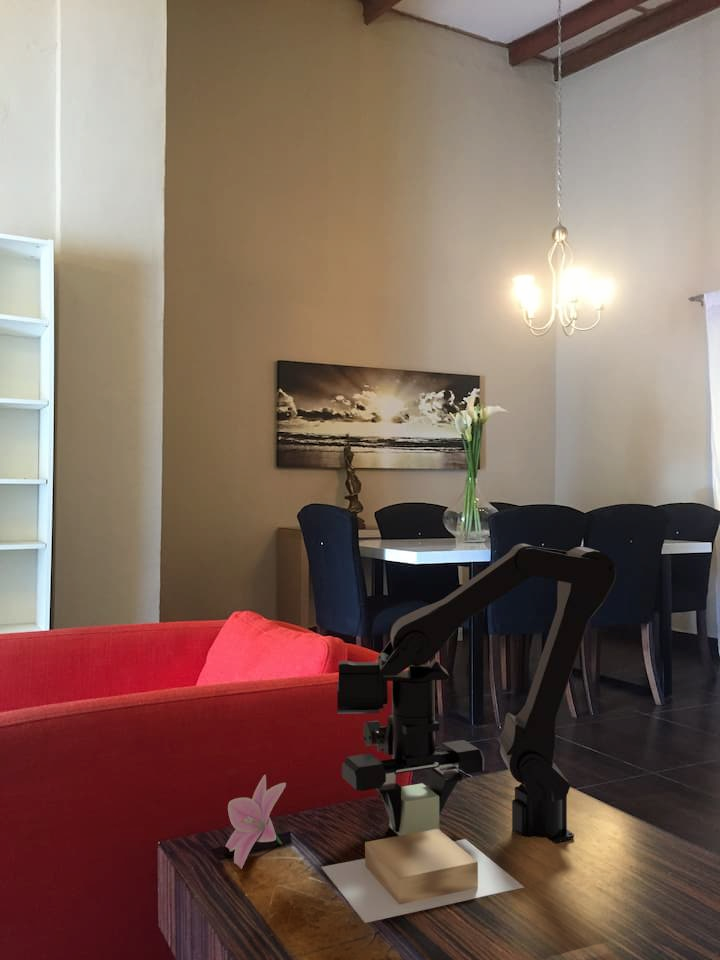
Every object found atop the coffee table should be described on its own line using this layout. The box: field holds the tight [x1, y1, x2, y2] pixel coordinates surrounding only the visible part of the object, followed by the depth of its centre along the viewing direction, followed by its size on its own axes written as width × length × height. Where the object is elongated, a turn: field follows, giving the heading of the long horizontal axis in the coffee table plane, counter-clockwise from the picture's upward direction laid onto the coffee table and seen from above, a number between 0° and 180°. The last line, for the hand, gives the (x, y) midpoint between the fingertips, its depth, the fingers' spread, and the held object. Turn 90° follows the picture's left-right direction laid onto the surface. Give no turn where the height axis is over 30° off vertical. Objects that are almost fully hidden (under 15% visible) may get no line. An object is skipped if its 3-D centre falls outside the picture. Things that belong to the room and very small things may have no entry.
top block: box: [389, 783, 440, 836], centre depth 117 cm, size 5×5×6 cm
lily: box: [225, 774, 287, 876], centre depth 112 cm, size 12×12×10 cm
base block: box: [364, 828, 478, 905], centre depth 104 cm, size 10×10×3 cm
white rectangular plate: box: [320, 838, 525, 924], centre depth 104 cm, size 20×14×1 cm
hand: (414, 827), depth 117 cm, fingers closed on top block, 5 cm apart
